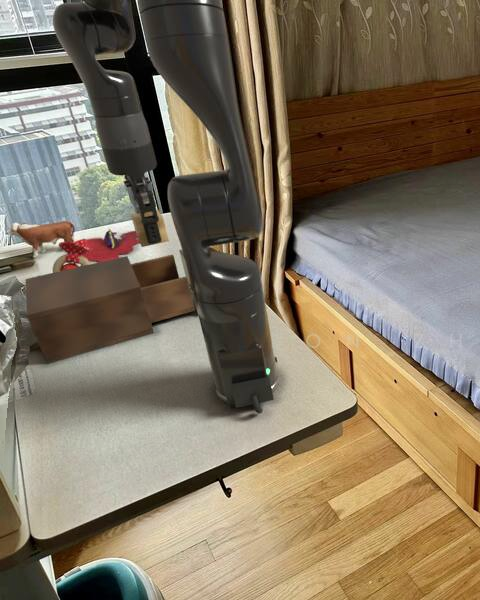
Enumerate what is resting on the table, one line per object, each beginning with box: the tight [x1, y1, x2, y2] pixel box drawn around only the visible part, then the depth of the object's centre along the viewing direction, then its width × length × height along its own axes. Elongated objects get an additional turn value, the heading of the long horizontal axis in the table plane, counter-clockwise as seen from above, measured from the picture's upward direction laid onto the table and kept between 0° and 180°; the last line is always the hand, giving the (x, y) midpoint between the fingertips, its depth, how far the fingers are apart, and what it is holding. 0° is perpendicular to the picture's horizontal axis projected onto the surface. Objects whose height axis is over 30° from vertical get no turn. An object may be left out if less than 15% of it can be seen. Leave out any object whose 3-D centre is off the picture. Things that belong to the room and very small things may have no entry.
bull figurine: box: [8, 220, 76, 259], centre depth 126 cm, size 4×13×8 cm, turn 107°
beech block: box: [130, 208, 170, 248], centre depth 96 cm, size 5×5×5 cm
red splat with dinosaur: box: [82, 228, 140, 263], centre depth 129 cm, size 18×15×5 cm
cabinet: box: [25, 255, 155, 364], centre depth 97 cm, size 17×15×9 cm
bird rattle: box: [52, 238, 92, 273], centre depth 110 cm, size 6×11×9 cm
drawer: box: [131, 249, 196, 324], centre depth 103 cm, size 22×14×8 cm, turn 122°
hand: (152, 237), depth 97 cm, fingers closed on beech block, 4 cm apart
